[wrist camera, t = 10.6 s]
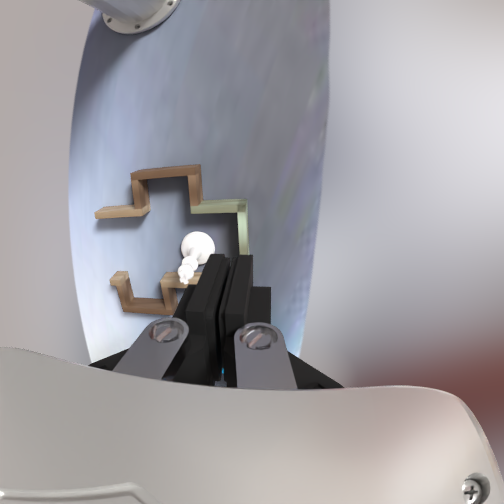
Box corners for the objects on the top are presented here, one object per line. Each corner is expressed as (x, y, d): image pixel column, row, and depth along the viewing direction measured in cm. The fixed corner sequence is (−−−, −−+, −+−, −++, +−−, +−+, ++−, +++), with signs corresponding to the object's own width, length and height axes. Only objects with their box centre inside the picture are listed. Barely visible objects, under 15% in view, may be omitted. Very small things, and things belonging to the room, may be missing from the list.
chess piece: (190, 267, 43) (173, 303, 34) (176, 238, 42) (154, 268, 32) (220, 256, 43) (209, 292, 33) (206, 226, 41) (191, 255, 32)
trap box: (99, 175, 38) (89, 179, 36) (245, 162, 37) (243, 164, 34) (125, 301, 47) (118, 311, 44) (251, 306, 46) (250, 317, 43)
